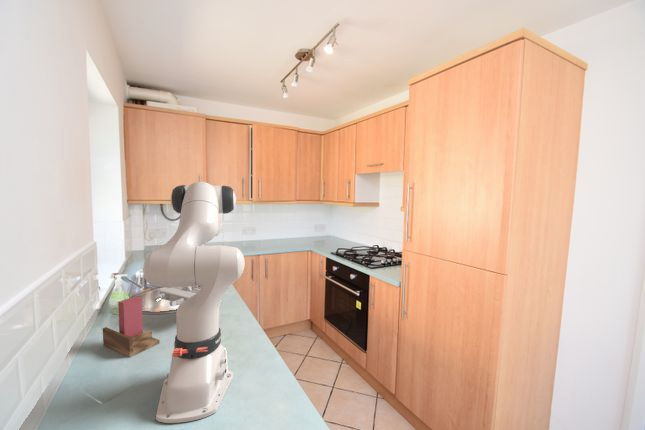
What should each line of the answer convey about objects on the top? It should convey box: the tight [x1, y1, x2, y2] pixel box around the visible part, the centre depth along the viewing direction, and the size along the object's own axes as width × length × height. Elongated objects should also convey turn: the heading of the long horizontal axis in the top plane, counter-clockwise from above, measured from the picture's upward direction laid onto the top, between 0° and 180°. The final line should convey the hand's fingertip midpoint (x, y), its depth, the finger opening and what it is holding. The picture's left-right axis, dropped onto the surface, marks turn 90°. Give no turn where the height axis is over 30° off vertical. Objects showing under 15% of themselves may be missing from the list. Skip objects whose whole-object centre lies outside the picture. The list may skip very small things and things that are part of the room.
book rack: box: [102, 326, 160, 358], centre depth 100 cm, size 10×16×6 cm, turn 63°
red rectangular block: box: [117, 296, 144, 337], centre depth 99 cm, size 6×3×15 cm, turn 153°
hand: (163, 302), depth 110 cm, fingers open, 8 cm apart
